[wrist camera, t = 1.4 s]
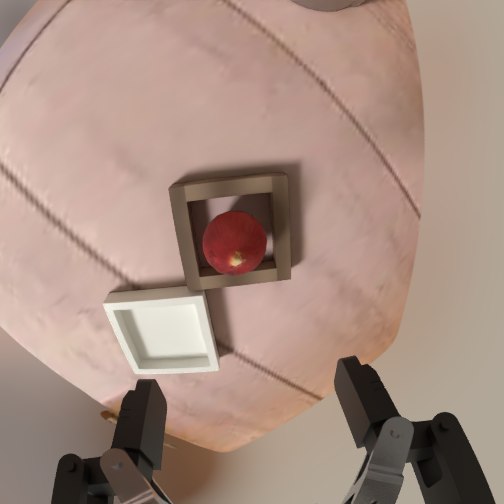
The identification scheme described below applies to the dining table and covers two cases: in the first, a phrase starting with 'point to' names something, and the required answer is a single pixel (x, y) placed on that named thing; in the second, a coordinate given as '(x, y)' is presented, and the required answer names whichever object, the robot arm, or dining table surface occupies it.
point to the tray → (164, 330)
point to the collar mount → (224, 188)
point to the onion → (234, 243)
